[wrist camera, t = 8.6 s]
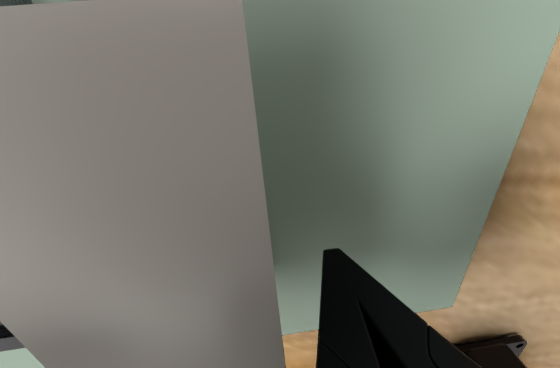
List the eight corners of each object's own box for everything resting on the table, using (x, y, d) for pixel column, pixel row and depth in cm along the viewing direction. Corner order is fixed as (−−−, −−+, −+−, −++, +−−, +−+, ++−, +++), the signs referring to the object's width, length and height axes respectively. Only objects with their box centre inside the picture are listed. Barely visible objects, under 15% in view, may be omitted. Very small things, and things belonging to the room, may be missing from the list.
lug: (273, 274, 10) (291, 416, 6) (171, 289, 10) (123, 448, 6) (243, 26, 6) (241, -10, 2) (68, 39, 6) (-288, 26, 2)
